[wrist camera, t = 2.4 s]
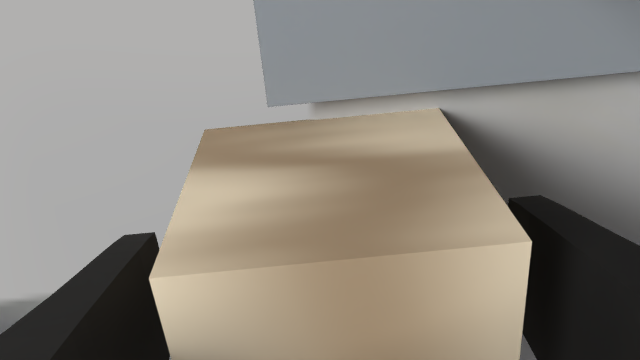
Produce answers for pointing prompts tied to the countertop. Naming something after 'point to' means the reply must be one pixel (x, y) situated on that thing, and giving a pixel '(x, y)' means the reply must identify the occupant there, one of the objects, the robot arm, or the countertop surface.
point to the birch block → (341, 246)
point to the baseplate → (437, 44)
